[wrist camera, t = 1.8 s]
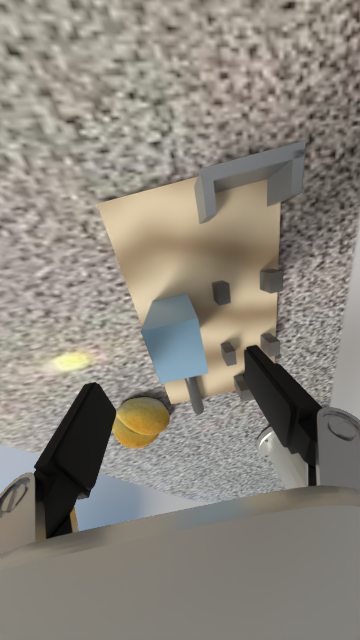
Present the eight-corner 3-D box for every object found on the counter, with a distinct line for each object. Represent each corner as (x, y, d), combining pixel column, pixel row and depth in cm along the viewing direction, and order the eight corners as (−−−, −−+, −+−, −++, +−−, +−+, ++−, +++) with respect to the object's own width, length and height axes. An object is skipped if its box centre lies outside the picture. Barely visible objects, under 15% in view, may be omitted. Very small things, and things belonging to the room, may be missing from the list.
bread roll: (177, 404, 25) (179, 430, 22) (150, 434, 28) (147, 461, 24) (132, 385, 23) (125, 410, 19) (107, 419, 26) (97, 447, 22)
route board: (270, 382, 24) (285, 401, 21) (172, 403, 25) (172, 424, 21) (276, 159, 13) (309, 130, 10) (100, 206, 14) (80, 192, 11)
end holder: (275, 204, 14) (301, 192, 11) (199, 224, 14) (206, 217, 11) (276, 164, 13) (306, 139, 10) (193, 186, 13) (200, 168, 10)
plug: (210, 404, 24) (225, 458, 18) (186, 409, 24) (191, 465, 18) (187, 293, 17) (197, 317, 10) (152, 301, 17) (140, 331, 10)
